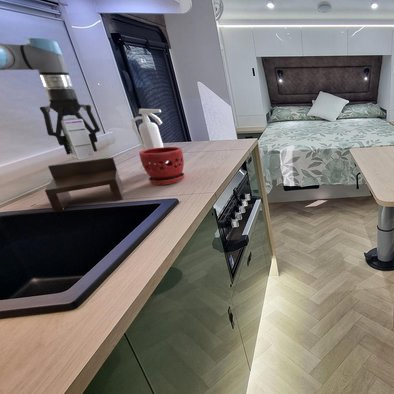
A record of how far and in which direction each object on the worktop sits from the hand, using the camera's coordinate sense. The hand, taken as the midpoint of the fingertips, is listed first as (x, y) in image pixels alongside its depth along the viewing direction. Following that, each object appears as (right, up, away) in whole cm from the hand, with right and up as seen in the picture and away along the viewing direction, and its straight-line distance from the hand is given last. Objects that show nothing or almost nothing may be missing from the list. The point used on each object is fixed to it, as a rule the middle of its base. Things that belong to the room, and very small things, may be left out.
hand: (82, 152), depth 111 cm
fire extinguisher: (+23, -7, +10) cm, 26 cm away
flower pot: (+34, -11, -2) cm, 36 cm away
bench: (+19, -18, -18) cm, 32 cm away
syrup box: (0, -2, +1) cm, 2 cm away
